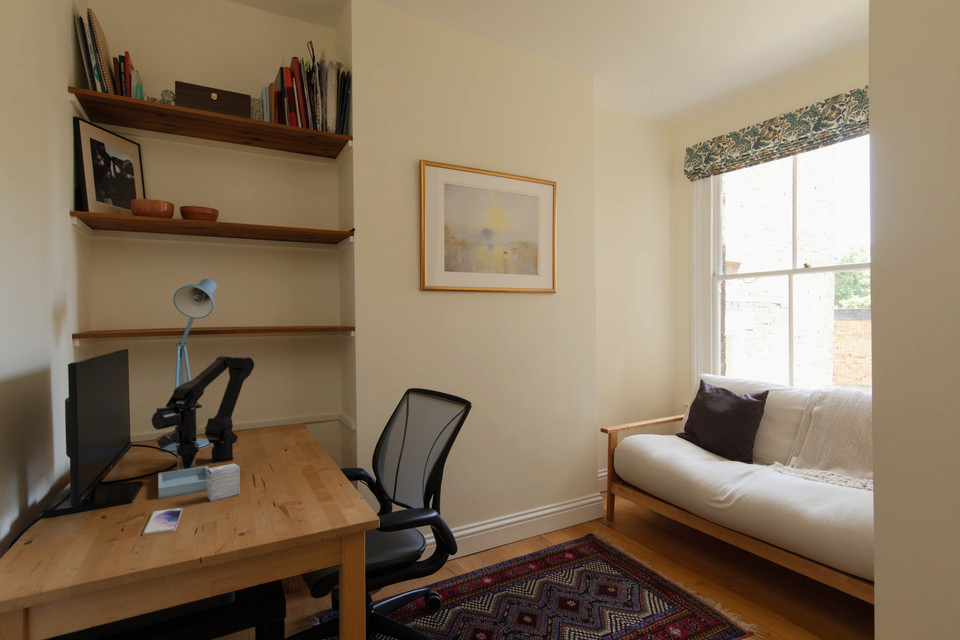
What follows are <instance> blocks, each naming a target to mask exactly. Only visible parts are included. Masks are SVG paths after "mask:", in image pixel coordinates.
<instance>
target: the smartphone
mask: <svg viewBox="0 0 960 640" xmlns="http://www.w3.org/2000/svg"><path fill="white" fill-rule="evenodd" d="M182 513H183V507H177V508H168V509H160V510H154V511H153V512H151V515H150V517H149V519H148V521H147V523H146V525H145V527H144V528H143V531H142V536H143V537H146V536H153V535H160V534H164V533H172V532H174V531H176V530H177V528H178V525H179V522H180V518H181V516H182Z"/></svg>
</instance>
